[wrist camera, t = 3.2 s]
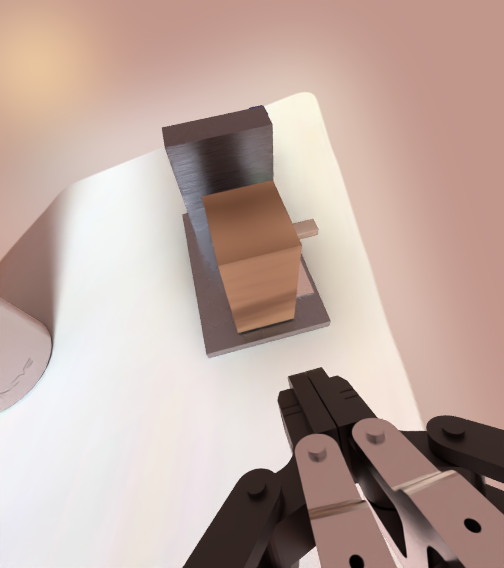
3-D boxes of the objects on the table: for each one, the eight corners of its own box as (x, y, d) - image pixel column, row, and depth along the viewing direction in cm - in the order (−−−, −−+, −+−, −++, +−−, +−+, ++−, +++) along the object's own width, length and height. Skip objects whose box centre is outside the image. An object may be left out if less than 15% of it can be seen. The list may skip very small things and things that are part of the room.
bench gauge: (328, 325, 26) (356, 249, 17) (208, 358, 26) (169, 296, 16) (274, 199, 35) (273, 103, 26) (184, 220, 35) (150, 130, 25)
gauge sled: (318, 311, 26) (337, 236, 17) (238, 333, 25) (217, 266, 17) (295, 259, 29) (303, 173, 20) (224, 276, 28) (201, 196, 20)
